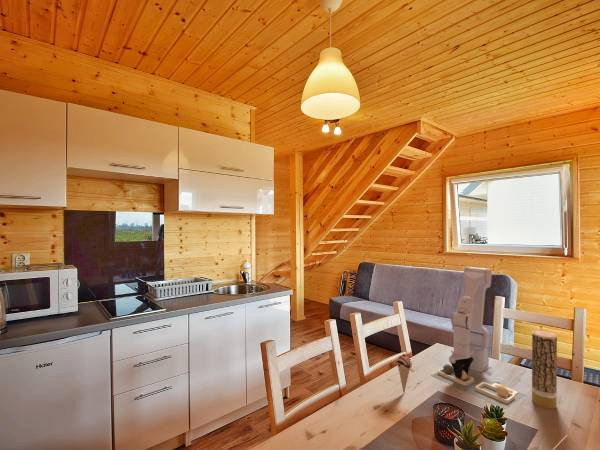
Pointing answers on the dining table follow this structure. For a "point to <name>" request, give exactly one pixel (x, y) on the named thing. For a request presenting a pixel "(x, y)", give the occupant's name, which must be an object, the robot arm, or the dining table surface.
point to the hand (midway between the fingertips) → (461, 376)
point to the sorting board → (480, 388)
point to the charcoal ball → (448, 369)
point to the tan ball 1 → (463, 375)
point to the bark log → (544, 369)
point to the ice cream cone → (403, 369)
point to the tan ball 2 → (502, 391)
